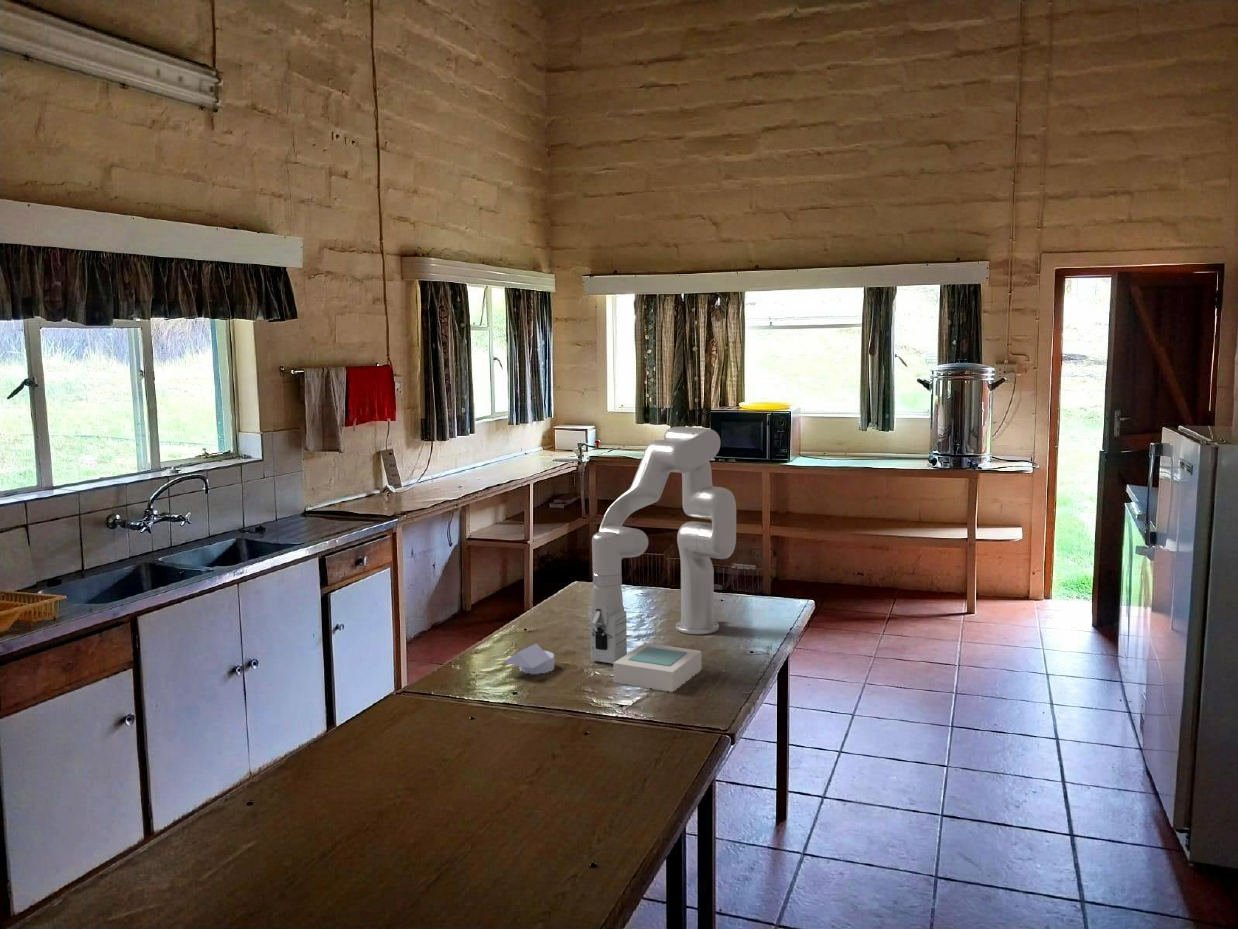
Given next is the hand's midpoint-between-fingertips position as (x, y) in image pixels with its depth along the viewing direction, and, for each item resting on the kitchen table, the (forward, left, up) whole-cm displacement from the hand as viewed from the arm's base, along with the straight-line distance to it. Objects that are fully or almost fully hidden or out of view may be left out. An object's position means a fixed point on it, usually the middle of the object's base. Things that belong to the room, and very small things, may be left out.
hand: (608, 644), depth 259 cm
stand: (+5, +17, -4) cm, 18 cm away
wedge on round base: (+15, -14, -5) cm, 21 cm away
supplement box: (0, 0, -4) cm, 4 cm away
